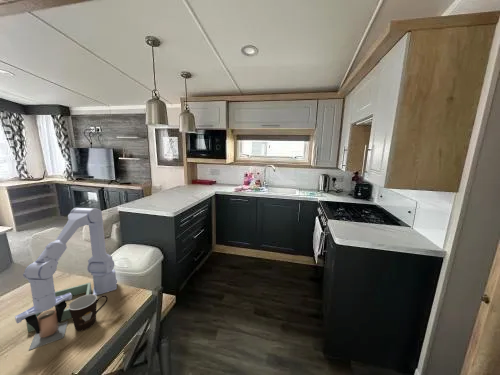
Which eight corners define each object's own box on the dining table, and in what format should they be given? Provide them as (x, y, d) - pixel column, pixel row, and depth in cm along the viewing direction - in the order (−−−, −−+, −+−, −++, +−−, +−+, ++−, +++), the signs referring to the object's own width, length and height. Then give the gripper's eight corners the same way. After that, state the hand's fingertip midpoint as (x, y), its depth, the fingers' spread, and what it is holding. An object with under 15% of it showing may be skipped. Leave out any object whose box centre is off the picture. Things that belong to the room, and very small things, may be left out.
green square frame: (91, 289, 101) (90, 282, 101) (88, 312, 87) (87, 303, 86) (40, 303, 91) (39, 295, 90) (27, 332, 76) (26, 322, 76)
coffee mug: (68, 337, 75) (65, 313, 73) (75, 320, 82) (72, 298, 81) (106, 325, 80) (104, 302, 79) (109, 311, 88) (107, 290, 86)
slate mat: (67, 321, 82) (67, 320, 82) (63, 337, 74) (63, 337, 74) (36, 331, 77) (36, 331, 77) (28, 350, 69) (28, 350, 69)
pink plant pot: (56, 323, 79) (54, 307, 78) (60, 330, 76) (58, 313, 75) (37, 333, 75) (34, 316, 74) (41, 340, 72) (38, 322, 71)
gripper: (65, 279, 81) (69, 310, 83) (10, 300, 69) (16, 335, 71) (72, 285, 77) (76, 317, 79) (15, 309, 65) (21, 345, 67)
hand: (48, 326), depth 75 cm, fingers closed on pink plant pot, 5 cm apart
